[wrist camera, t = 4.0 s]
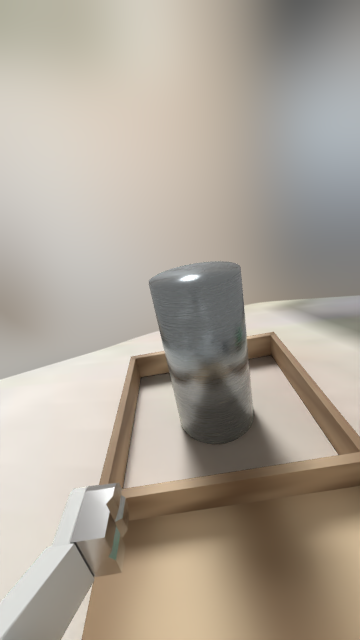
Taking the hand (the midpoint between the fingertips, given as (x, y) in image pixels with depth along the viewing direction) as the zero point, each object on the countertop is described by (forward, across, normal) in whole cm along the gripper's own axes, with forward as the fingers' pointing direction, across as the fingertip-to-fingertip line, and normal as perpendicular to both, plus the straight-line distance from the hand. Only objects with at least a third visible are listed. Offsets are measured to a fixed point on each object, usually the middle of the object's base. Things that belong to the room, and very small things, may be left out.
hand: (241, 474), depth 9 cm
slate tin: (+10, 0, +6) cm, 12 cm away
